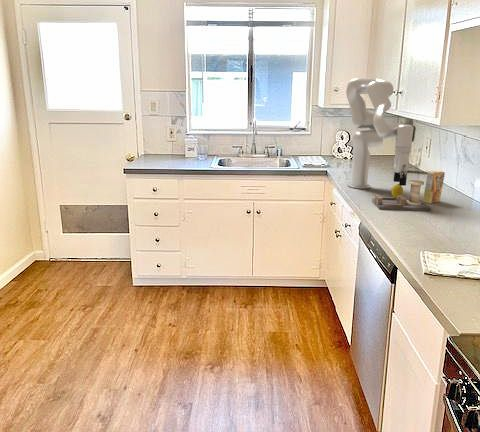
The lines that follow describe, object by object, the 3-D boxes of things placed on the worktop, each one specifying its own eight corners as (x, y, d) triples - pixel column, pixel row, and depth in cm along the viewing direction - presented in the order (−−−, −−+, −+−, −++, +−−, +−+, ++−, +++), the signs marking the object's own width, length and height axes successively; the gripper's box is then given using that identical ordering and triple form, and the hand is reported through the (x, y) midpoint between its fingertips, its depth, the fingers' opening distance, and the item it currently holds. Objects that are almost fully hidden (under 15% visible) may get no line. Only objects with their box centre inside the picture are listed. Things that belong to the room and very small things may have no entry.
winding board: (372, 201, 229) (373, 192, 228) (420, 203, 229) (421, 194, 227) (379, 209, 216) (380, 200, 215) (430, 211, 215) (431, 201, 214)
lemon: (404, 199, 235) (406, 184, 233) (397, 200, 232) (399, 185, 229) (395, 197, 239) (396, 182, 237) (388, 198, 236) (390, 183, 234)
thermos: (389, 169, 312) (395, 117, 301) (405, 169, 313) (412, 117, 303) (395, 172, 303) (402, 118, 293) (412, 172, 305) (419, 119, 295)
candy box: (433, 199, 236) (437, 170, 232) (440, 201, 233) (445, 172, 228) (422, 201, 232) (426, 172, 227) (429, 203, 228) (434, 173, 224)
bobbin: (403, 201, 225) (406, 179, 222) (418, 202, 225) (421, 180, 222) (408, 205, 218) (411, 182, 215) (422, 205, 218) (426, 183, 215)
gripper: (390, 147, 236) (387, 180, 241) (400, 151, 220) (397, 186, 224) (405, 147, 236) (401, 180, 241) (416, 152, 219) (412, 187, 224)
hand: (399, 183), depth 232 cm, fingers open, 9 cm apart
